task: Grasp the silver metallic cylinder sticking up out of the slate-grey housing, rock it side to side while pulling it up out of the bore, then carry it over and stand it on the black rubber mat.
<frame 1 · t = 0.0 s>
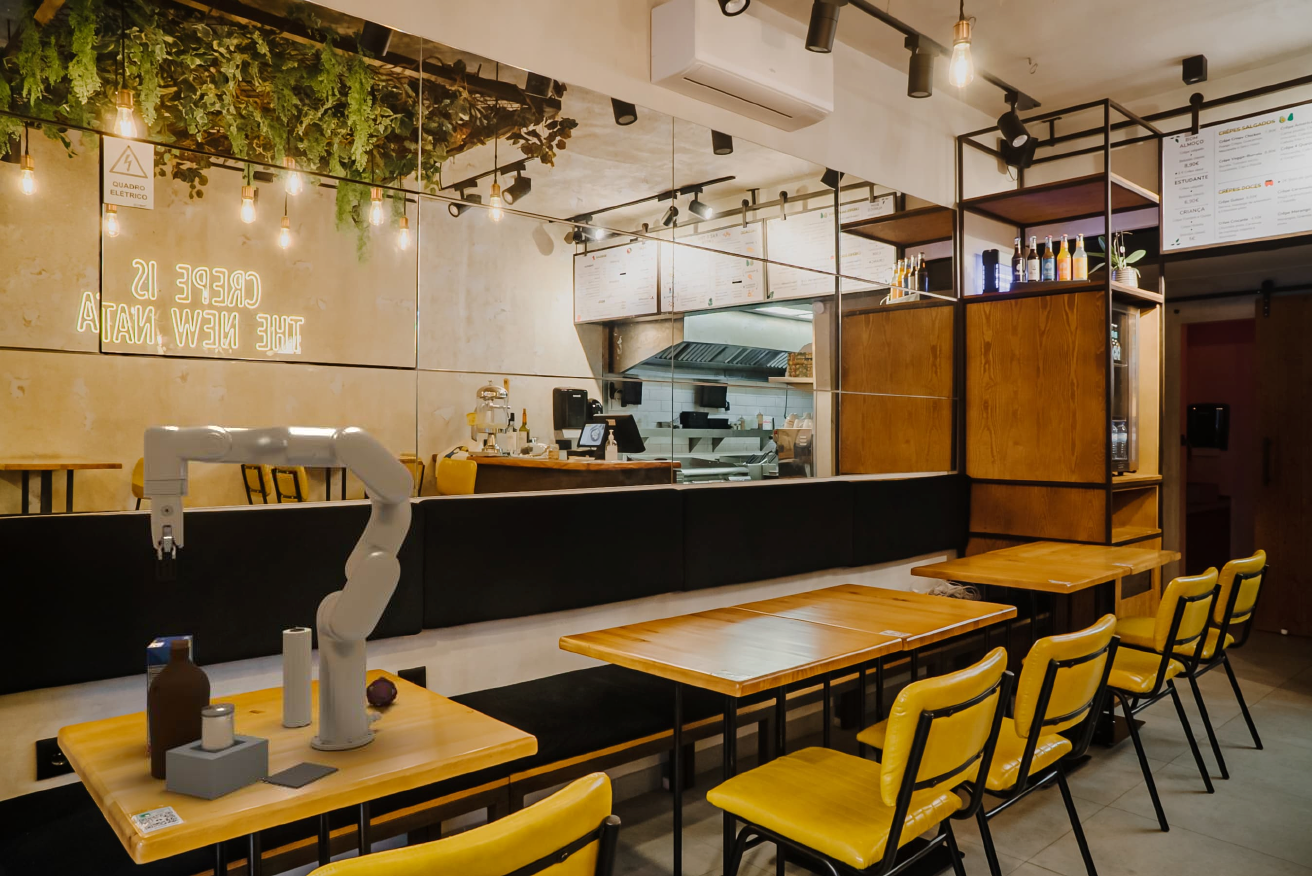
hand: (165, 578, 164), 37 cm above the table, tool pointing down, fingers open, 9 cm apart
beverage box: (170, 747, 178), on the table
paper towel roll: (298, 724, 193), on the table
olive oil: (179, 771, 164), on the table
silver metallic cylinder: (218, 745, 157), in the housing
housing: (218, 783, 157), on the table
mat: (300, 775, 160), on the table
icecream: (381, 706, 206), on the table
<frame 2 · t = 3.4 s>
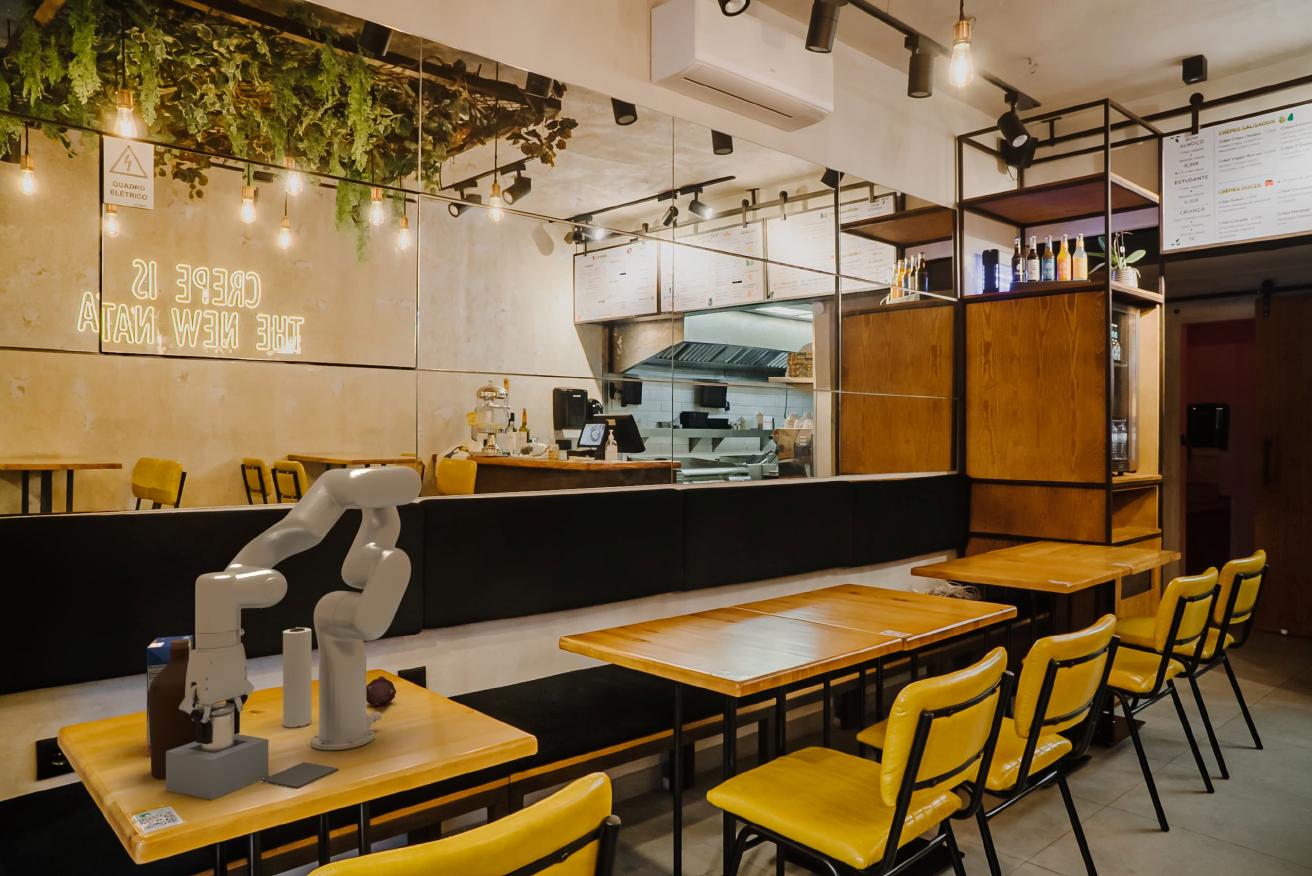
hand: (218, 736, 157), 8 cm above the table, tool pointing down, fingers closed on silver metallic cylinder, 5 cm apart
silver metallic cylinder: (218, 745, 157), in the housing, touching gripper
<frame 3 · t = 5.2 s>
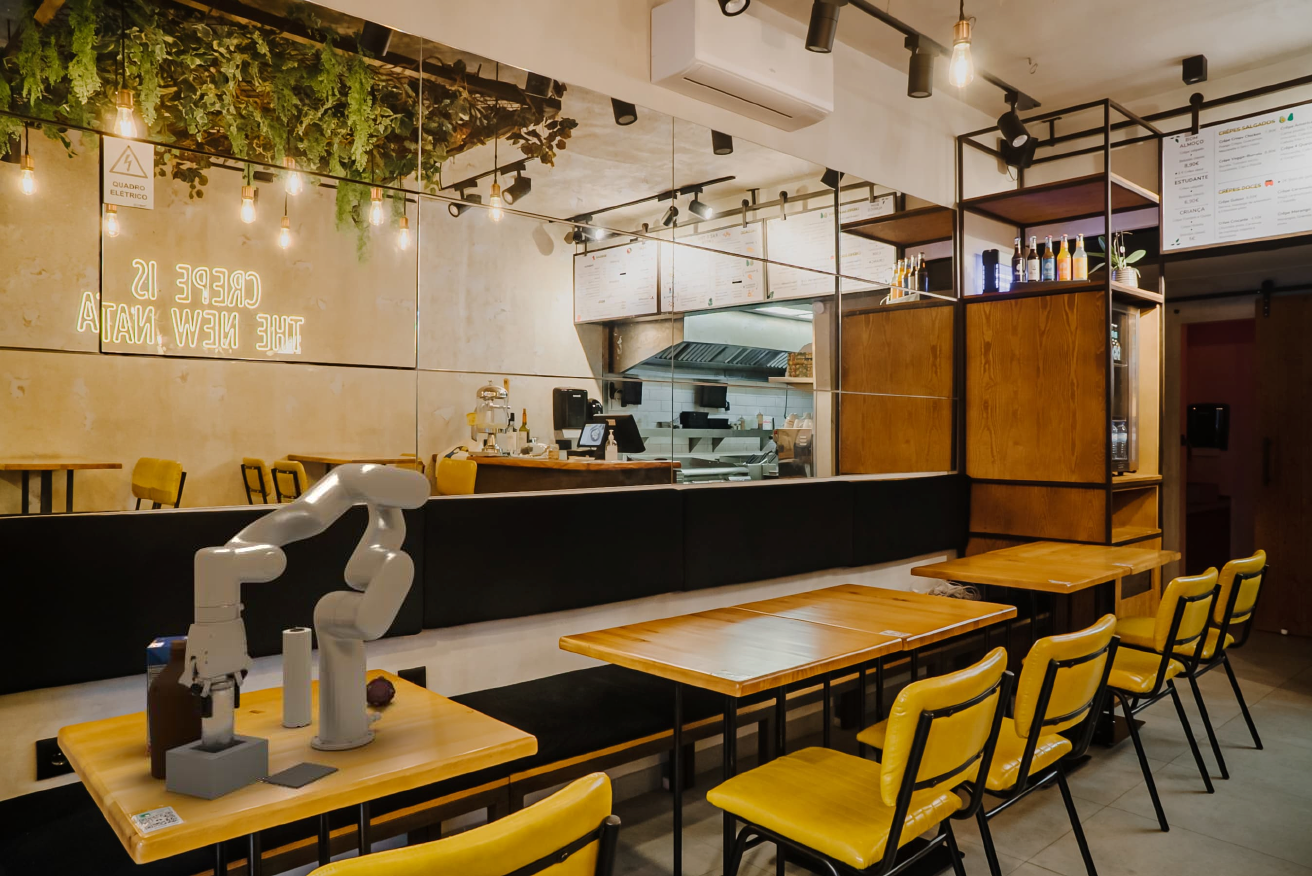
hand: (218, 711, 157), 13 cm above the table, tool pointing down, fingers closed on silver metallic cylinder, 5 cm apart
silver metallic cylinder: (218, 719, 157), point 12 cm above the table, touching gripper
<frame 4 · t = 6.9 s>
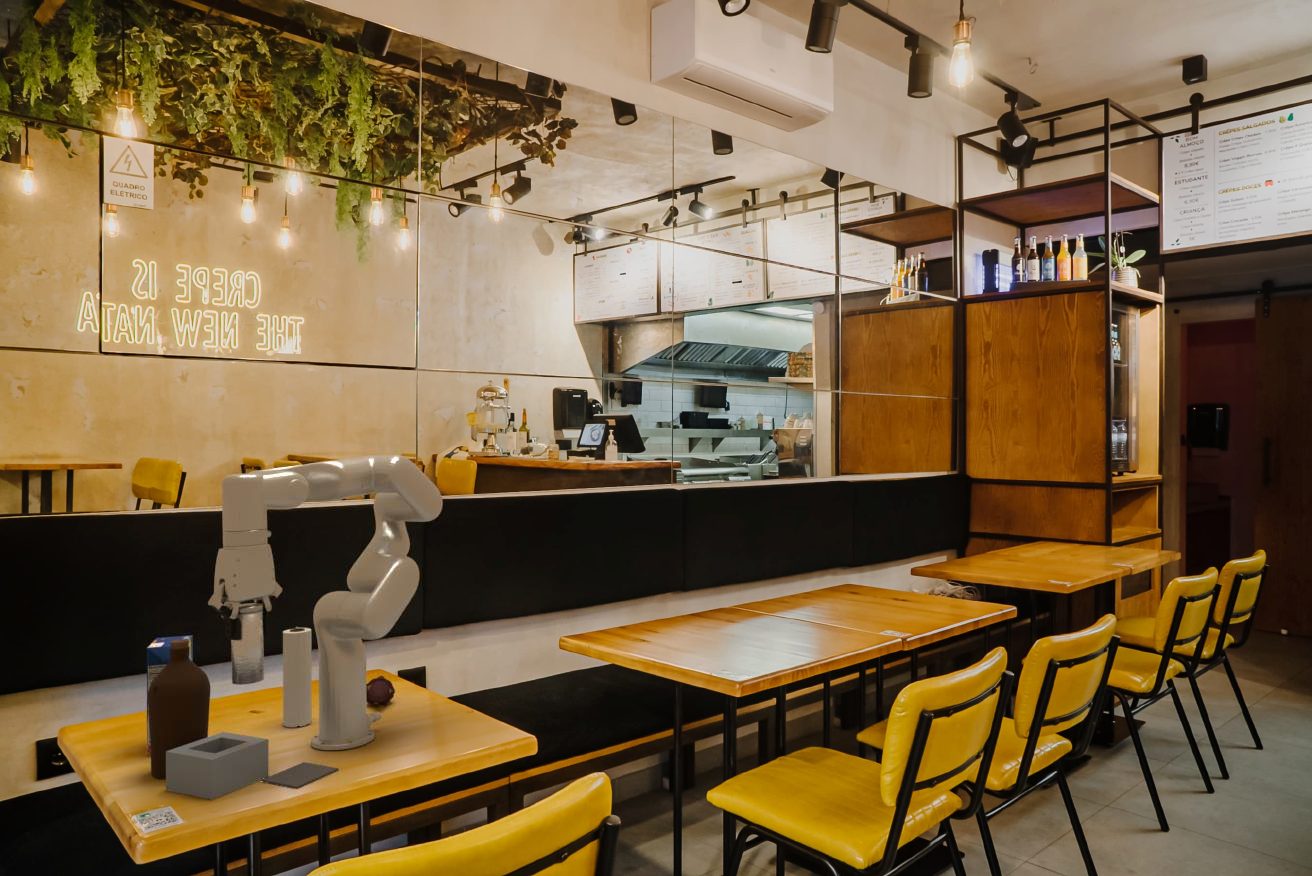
hand: (247, 634, 159), 27 cm above the table, tool pointing down, fingers closed on silver metallic cylinder, 5 cm apart
silver metallic cylinder: (247, 643, 159), point 26 cm above the table, touching gripper
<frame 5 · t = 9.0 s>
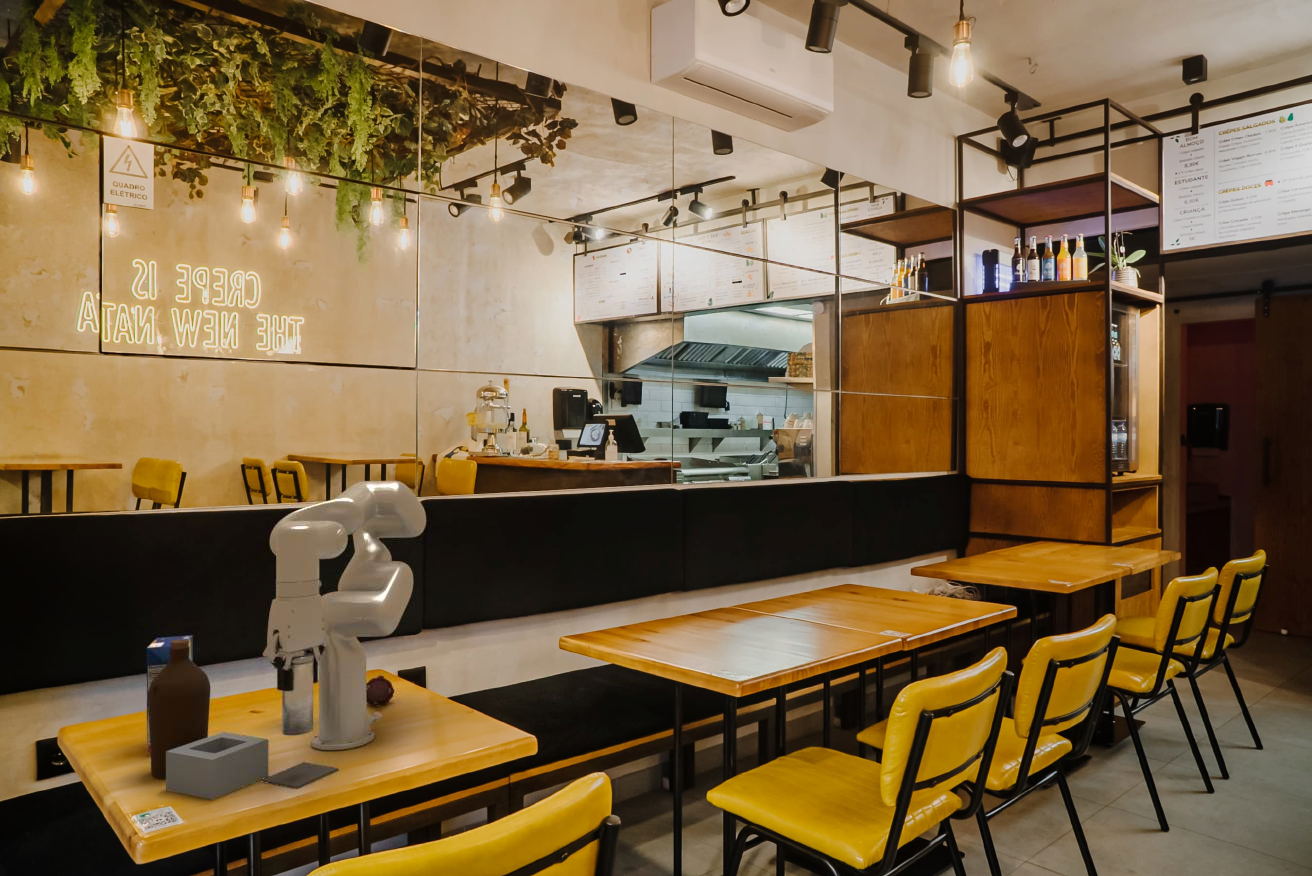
hand: (297, 685, 160), 17 cm above the table, tool pointing down, fingers closed on silver metallic cylinder, 5 cm apart
silver metallic cylinder: (297, 693, 160), point 16 cm above the table, touching gripper
when the fingers open (10 cm above the table, at t = 10.6 s): silver metallic cylinder drops 1 cm, resting on mat.
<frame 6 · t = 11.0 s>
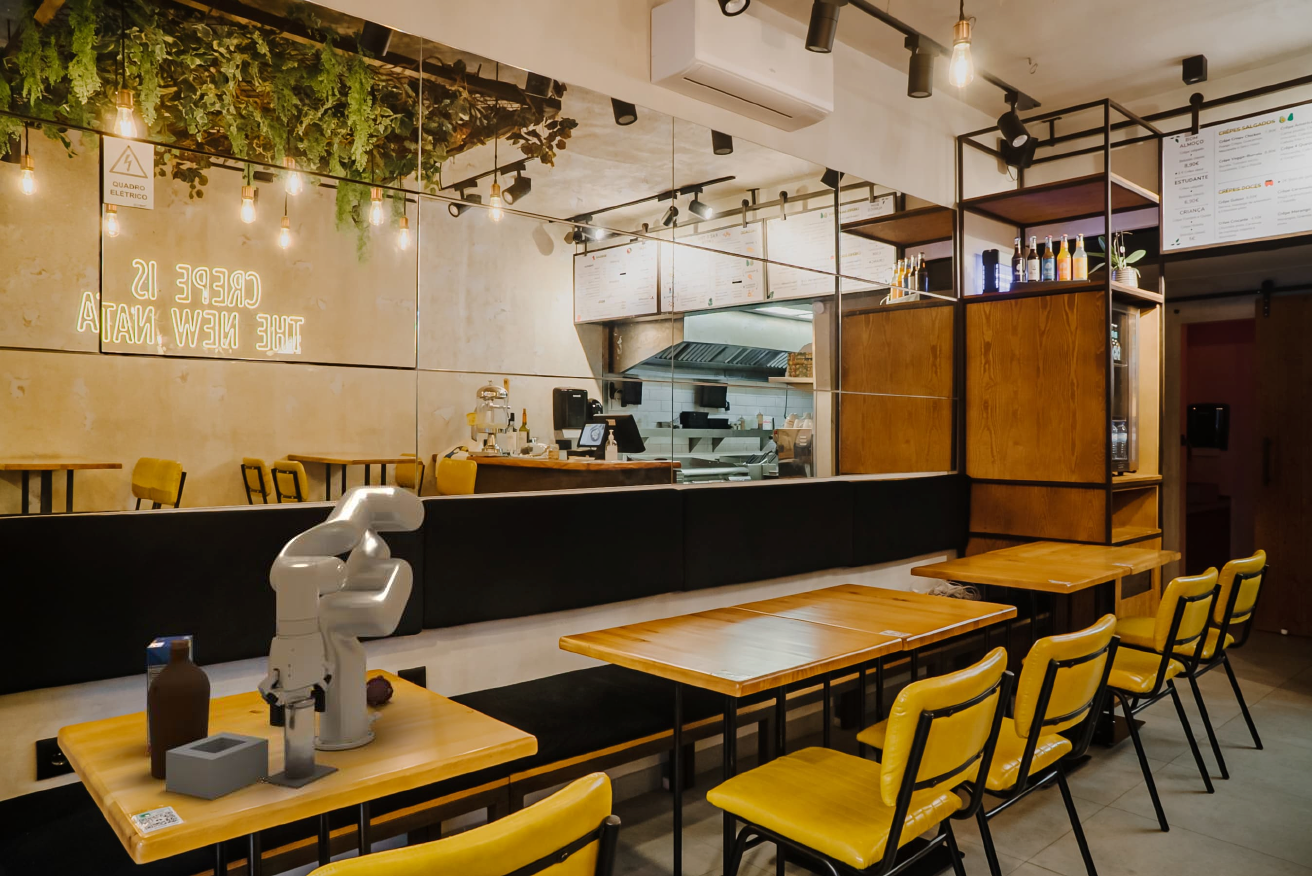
hand: (298, 718, 160), 11 cm above the table, tool pointing down, fingers open, 9 cm apart
silver metallic cylinder: (299, 736, 160), on the mat
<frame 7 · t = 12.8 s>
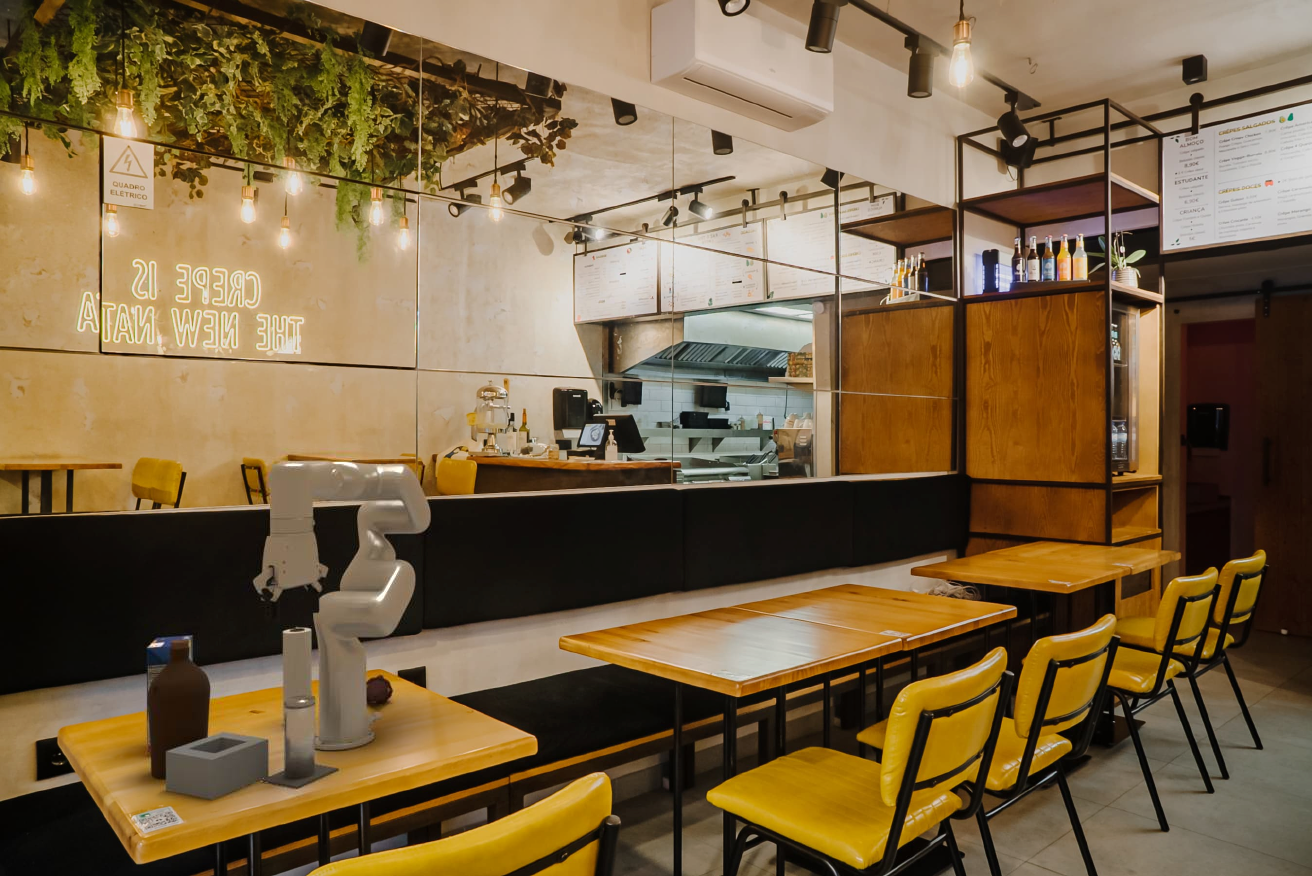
hand: (292, 617, 161), 30 cm above the table, tool pointing down, fingers open, 9 cm apart
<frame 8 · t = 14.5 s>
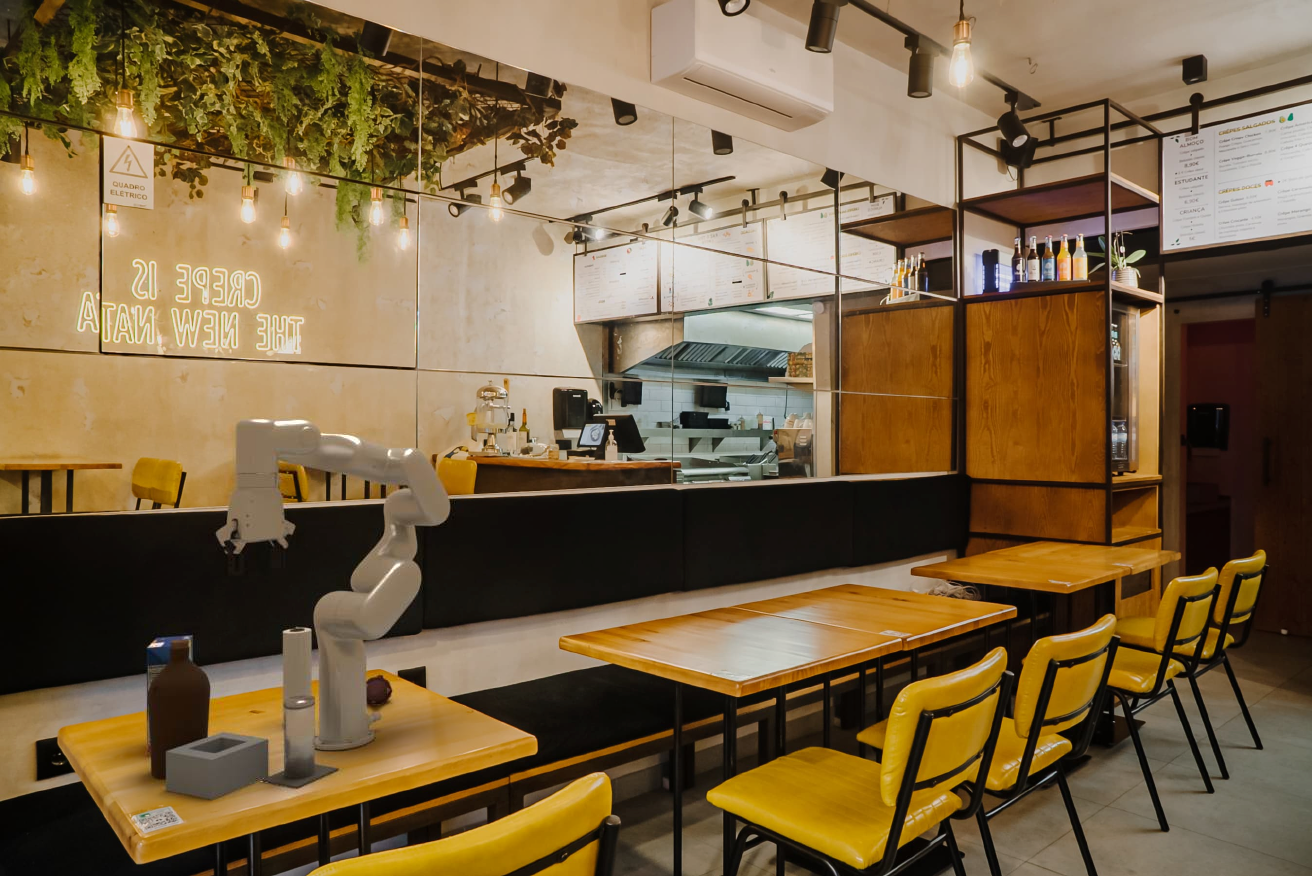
hand: (257, 571, 164), 38 cm above the table, tool pointing down, fingers open, 9 cm apart
at the end: silver metallic cylinder inside the target area on the mat (0.2 cm from its centre), point 7.4 cm above the mat's base; silver metallic cylinder tilted 1°; the gripper is holding nothing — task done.
